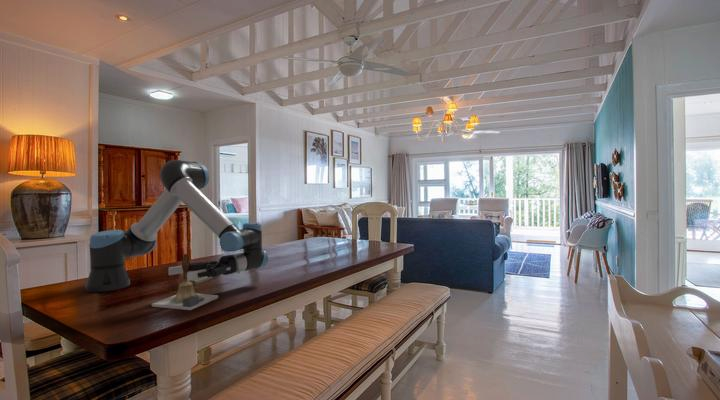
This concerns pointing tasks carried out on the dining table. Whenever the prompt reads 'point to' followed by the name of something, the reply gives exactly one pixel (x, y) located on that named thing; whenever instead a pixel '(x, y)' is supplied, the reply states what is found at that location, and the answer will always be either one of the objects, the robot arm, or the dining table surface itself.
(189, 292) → the hand bell
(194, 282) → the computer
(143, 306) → the dining table surface
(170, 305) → the charging dock
